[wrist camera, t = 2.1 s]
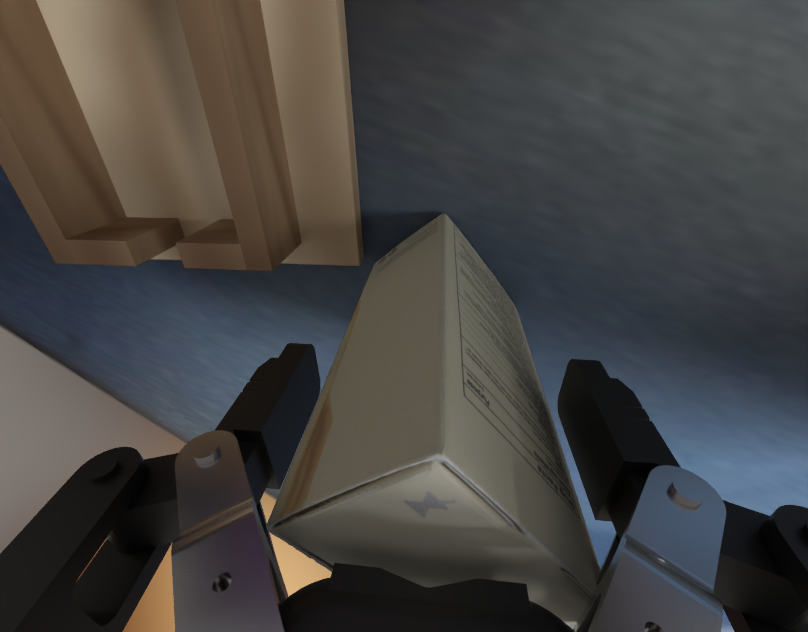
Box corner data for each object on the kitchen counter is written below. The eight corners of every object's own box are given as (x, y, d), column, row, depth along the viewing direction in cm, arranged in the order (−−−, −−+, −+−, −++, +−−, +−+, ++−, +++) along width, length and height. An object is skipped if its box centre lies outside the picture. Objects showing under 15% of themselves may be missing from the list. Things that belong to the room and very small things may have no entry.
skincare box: (371, 263, 17) (240, 523, 7) (445, 207, 15) (428, 441, 5) (449, 353, 19) (445, 655, 9) (523, 313, 17) (626, 632, 7)
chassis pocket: (330, -177, 10) (266, -317, 7) (364, 257, 17) (341, 297, 13) (-89, -133, 12) (-314, -228, 8) (96, 249, 18) (15, 283, 15)
